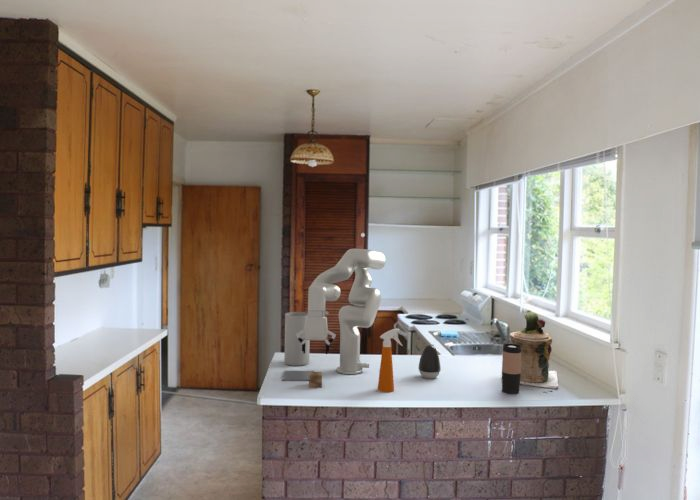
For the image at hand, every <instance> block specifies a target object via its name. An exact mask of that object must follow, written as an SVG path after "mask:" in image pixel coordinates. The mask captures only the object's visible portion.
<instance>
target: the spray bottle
mask: <svg viewBox="0 0 700 500" xmlns="http://www.w3.org/2000/svg"><path fill="white" fill-rule="evenodd" d="M399 332H401V330H400V328H392V329H391V330H390V329H389V330H388V331H386V332H384V333H382V334H381V335H380V336H379V338H380V339H382V340H383V341H382V349H381V356H380V367H379V376H378V382H377V390H378V392H381V393H393V392H394V390H395V382H394V381H395V380H394V370H393V369H394V368H393V353H392V341H391V339H393V340H394V341H396V343H397V344H398V345H400V346H402V347H403V344H402V342H401V341H400V339H399V336H398V335H399V334H398V333H399Z"/></svg>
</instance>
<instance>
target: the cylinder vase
mask: <svg viewBox="0 0 700 500" xmlns="http://www.w3.org/2000/svg"><path fill="white" fill-rule="evenodd" d="M306 316H308V312H304V311H290V312H286V313H285V314H284V364H286V365H287V366H291V367H292V366H293V367H303V366H306V365H308V364H309V363H310V345H311V344H310V342H311V340H307V341H306V342H305V343H306V345H305V354H303V351H302V343H301V342H300V341H299V340H298V338H297V336H296V333H298V332H300V331H302V330H304V329H305V320H306ZM300 337H301V338H302V339H304V333H303V334H301V335H300Z"/></svg>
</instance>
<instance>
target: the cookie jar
mask: <svg viewBox="0 0 700 500" xmlns="http://www.w3.org/2000/svg"><path fill="white" fill-rule="evenodd" d="M524 319H525V322H526V323H525V325H526V326H525V328H522V329H521V330H519V331H514V332H513V331H512V332H511V333H510V334H509V338H510V343H509V344H517V345H520V346H521V374H520V386H521V385H523V386H527V387H528V386H530V387H537V388H546V389H550V390H551V389H557V388H558V387H559V386H560V384H559V377H558V372H557V370H549V368H550V363H549V361H550V357H551V353H552V348H553V347H552V346H551V345H552V343H553V338H552V337H551V336H550V334H549V333H547V332H545V331H544V330H543V328H545V326H546V321H545V320H544V319H543V318H539V315H538V314H537V313H536V312H533V311H531V310H530V309H527V311H526V313H525V315H524ZM501 379H502V376H501Z"/></svg>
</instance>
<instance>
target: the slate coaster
mask: <svg viewBox="0 0 700 500" xmlns="http://www.w3.org/2000/svg"><path fill="white" fill-rule="evenodd" d="M309 372H315V371H314V370H284V371H283V375H282V379H281V381H285V382H286V381H289V382H295V381H296V382H302V381H303V382H309Z"/></svg>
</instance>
